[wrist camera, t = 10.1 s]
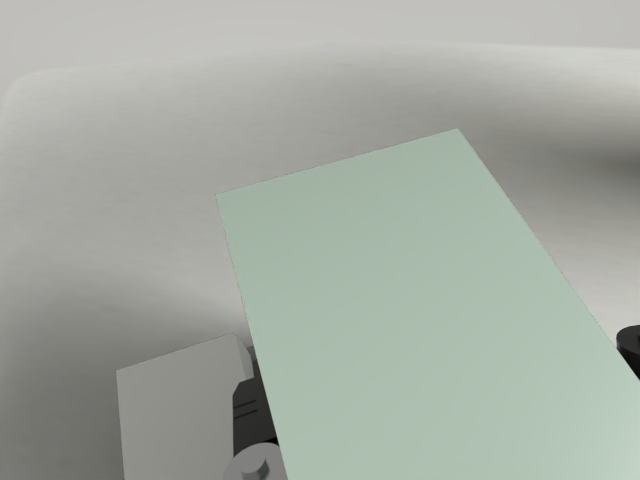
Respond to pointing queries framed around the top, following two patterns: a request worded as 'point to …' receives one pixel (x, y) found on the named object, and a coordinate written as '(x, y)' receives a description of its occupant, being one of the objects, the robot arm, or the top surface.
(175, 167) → the top surface
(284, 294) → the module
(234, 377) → the board
